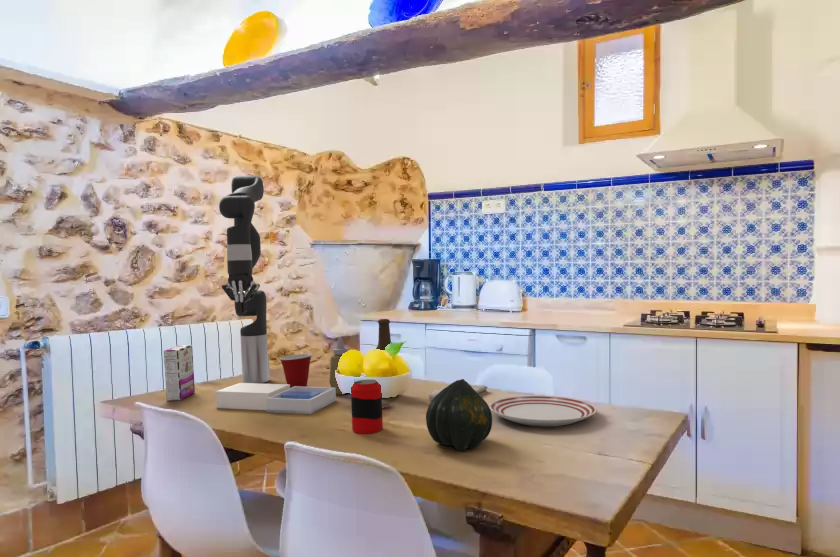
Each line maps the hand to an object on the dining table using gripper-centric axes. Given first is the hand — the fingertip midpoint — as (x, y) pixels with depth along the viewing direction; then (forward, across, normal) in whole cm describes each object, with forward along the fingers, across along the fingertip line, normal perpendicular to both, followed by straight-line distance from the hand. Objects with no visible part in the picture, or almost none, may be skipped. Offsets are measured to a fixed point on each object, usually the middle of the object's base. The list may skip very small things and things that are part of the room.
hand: (242, 313), depth 181 cm
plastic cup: (+27, -11, -13) cm, 32 cm away
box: (+27, -24, +6) cm, 36 cm away
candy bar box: (+27, +24, +1) cm, 36 cm away
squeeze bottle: (+27, -28, -12) cm, 41 cm away
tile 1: (+26, -21, +6) cm, 34 cm away
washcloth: (+28, -67, -13) cm, 73 cm away
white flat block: (+27, -7, +6) cm, 29 cm away
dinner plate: (+28, -93, +6) cm, 97 cm away
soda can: (+27, -52, +25) cm, 64 cm away
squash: (+27, -77, +32) cm, 88 cm away
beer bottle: (+27, -44, -10) cm, 53 cm away
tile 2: (+23, -26, +6) cm, 35 cm away
